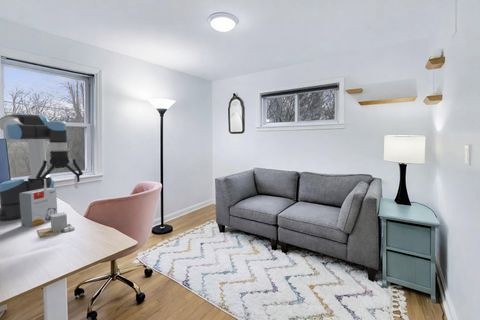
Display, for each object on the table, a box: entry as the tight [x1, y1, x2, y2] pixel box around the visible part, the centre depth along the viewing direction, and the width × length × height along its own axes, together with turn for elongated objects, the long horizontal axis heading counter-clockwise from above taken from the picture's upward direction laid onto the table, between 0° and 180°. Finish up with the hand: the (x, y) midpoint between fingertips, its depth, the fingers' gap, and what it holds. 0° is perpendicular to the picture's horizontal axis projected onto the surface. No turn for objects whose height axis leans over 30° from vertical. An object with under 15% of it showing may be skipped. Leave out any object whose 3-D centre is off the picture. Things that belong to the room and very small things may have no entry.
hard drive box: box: [19, 187, 58, 228], centre depth 139 cm, size 16×8×20 cm, turn 168°
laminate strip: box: [59, 223, 73, 234], centre depth 130 cm, size 12×6×1 cm, turn 46°
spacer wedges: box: [64, 225, 76, 233], centre depth 127 cm, size 2×4×2 cm, turn 136°
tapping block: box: [50, 211, 68, 232], centre depth 128 cm, size 6×6×8 cm
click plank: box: [36, 227, 61, 239], centre depth 125 cm, size 12×8×1 cm, turn 46°
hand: (61, 189), depth 130 cm, fingers open, 13 cm apart
